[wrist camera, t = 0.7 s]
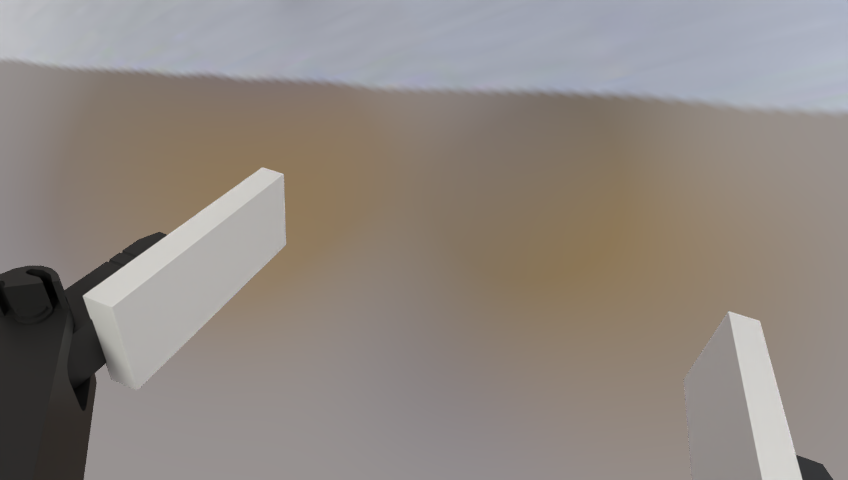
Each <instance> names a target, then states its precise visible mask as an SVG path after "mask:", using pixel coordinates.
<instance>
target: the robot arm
mask: <svg viewBox="0 0 848 480" xmlns="http://www.w3.org/2000/svg"><path fill="white" fill-rule="evenodd" d="M284 198H285V197H284V174H282V173H279V172H276V171H272V170H269V169H266V168H261V169H259V170H258V171H256V172H255V173H254V174H252V175H251V176H250V177H248V178H247V179H245V180H244V181H243V182H241V183H240V184H238V185H237V186H236V187H234V188H233V189H231V190H230V191H228V192H227V193H226V194H224V195H223V196H221V197H220V198H219V199H217V200H216V201H214V202H213V203H212V204H210V205H209V206H208V207H206V208H205V209H203V210H202V211H200V212H199V213H198V214H196V215H195V216H194V217H192V218H191V219H190V220H188V221H187V222H185V223H184V224H182V225H181V226H180V227H178V228H177V229H175V230H174V231H173V232H171V233H170V234H168V235H166V234H163V233H161V232H158V233H155V234H153V235H150V236H147V237H144V238H142V239H139V240H137V241H136V242H134V243H133V244H132V245H130V246H129V247H127V248H126V249H124V250H123V252H122V253H119V254H117V255H116V256H114V257H113V258H111V259H110V261H109V262H105V263H104V264H102V265H101V266H99V267H98V268H96V269H95V270H94V271H92V272H91V273H90V274H88V275H86V276H85V277H83V278H82V279H80V280H79V281H78V282H76V283H74V284H73V285H72V286H70V287H69V288H67V289H66V290H64V289H63V286H62V284H61V281H60V278H59V276H58V274H57V273H56V272H55V271H54V270H53V269H51V268H48V267H44V266H25V267H20V268H15V269H12V270H10V271H7V272H5V273H2V274H0V480H83V479H84V472H85V464H86V457H87V450H88V441H89V435H90V427H91V420H92V412H93V405H94V398H95V390H96V377H95V372H96V371H97V370H98V369H100V368H101V367H102V366H103V365H104V364H105V363H106V366H107V368H108V371H109V374H110V377H111V379H112V380H114V381H116V382H119V383H121V384H124V385H126V386H128V387H130V388H133V389H135V390H138V389H139V388H140V387H141V386H142V385H143V384H144V383H145V382H146V381H147V380H148V379H149V378H150V377H151V376H152V375H153V374H154V373H155V372H156V371H157V370H158V369H159V368H160V367H162V365H164V364H165V363H166V362H167V360H169V359H170V358H171V357H172V356H173V355H174V354H175V353H176V352H177V351H178V350H179V349H180V348H181V347H182V346H183V345H184V344H185V343H186V342H187V341H188V340H189V339H190V338H191V337H192V336H193V335H194V334H195V333H196V332H197V331H198V330H199V329H200V328H201V327H202V326H203V325H204V324H205V323H207V321H209V320H210V319H211V318H212V317H213V316H214V314H216V313H217V312H218V311H219V310H220V309H221V308H222V307H223V306H224V305H225V304H226V303H227V302H228V301H229V300H230V299H231V298H232V297H233V296H234V295H235V294H236V293H237V292H238V291H239V290H240V289H241V288H242V287H243V286H244V285H245V284H246V283H247V282H248V281H249V280H250V279H251V278H252V277H254V276H255V274H257V272H259V271H260V270H261V268H263V266H265V265H266V264H267V263H268V262H269V261H270V260H271V259H272V258H273V257H274V256H275V255H276V254H277V253H278V252H279V251H280V250H281V249H282V248H283V247H284V246H285V245H286V231H285V199H284ZM684 387H685V401H686V413H687V426H688V438H689V451H690V463H691V476H692V480H833V479H832V477H831V476H830V475H829V473H828V472H827V470H826V469H825V467H824V466H823V464H820V463H817V462H815V461H812V460H809V459H806V458H803V457H800V456H798V455H796V454H795V451H794V446H793V443H792V439H791V435H790V432H789V428H788V424H787V421H786V417H785V413H784V410H783V406H782V402H781V398H780V395H779V391H778V387H777V383H776V380H775V376H774V372H773V369H772V365H771V361H770V357H769V354H768V350H767V346H766V342H765V339H764V335H763V331H762V328H761V324H760V321H759V320H755V319H752V318H749V317H746V316H742V315H739V314H736V313H732V312H729V311H728V313H727V314H726V316H725V317H724V319H723V320H722V322H721V323H720V325H719V327H718V328H717V330H716V331H715V333H714V334H713V336H712V337H711V339H710V340H709V342H708V343H707V345H706V346H705V348H704V349H703V351H702V352H701V354H700V355H699V357H698V359H697V360H696V362H695V363H694V365H693V366H692V368H691V369H690V371H689V372H688V374H687V375H686V377H685V378H684Z"/></svg>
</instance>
